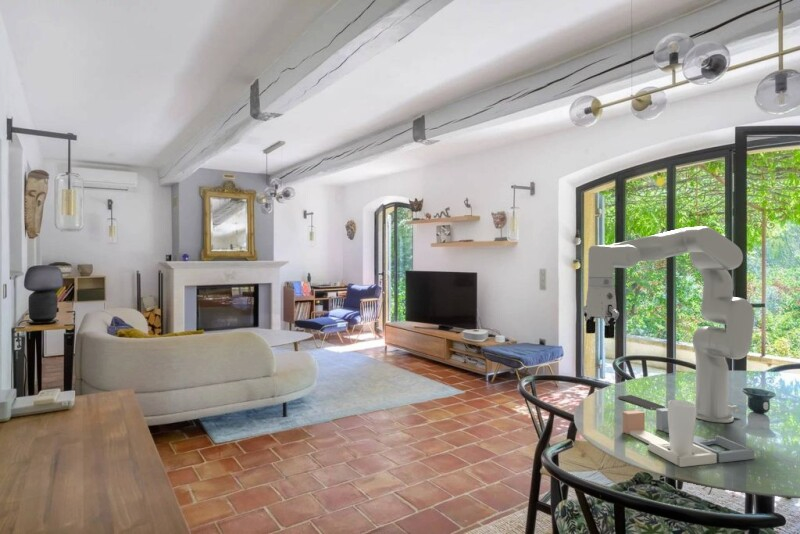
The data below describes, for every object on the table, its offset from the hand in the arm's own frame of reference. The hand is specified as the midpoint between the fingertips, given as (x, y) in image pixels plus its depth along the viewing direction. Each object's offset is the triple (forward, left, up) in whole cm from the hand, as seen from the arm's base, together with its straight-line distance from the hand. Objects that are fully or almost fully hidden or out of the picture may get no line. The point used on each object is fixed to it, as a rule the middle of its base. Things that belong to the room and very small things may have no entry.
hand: (599, 335), depth 156 cm
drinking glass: (-8, +25, -31) cm, 41 cm away
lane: (-8, +18, -30) cm, 36 cm away
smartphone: (-33, -21, -31) cm, 49 cm away
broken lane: (-20, +18, -30) cm, 41 cm away
